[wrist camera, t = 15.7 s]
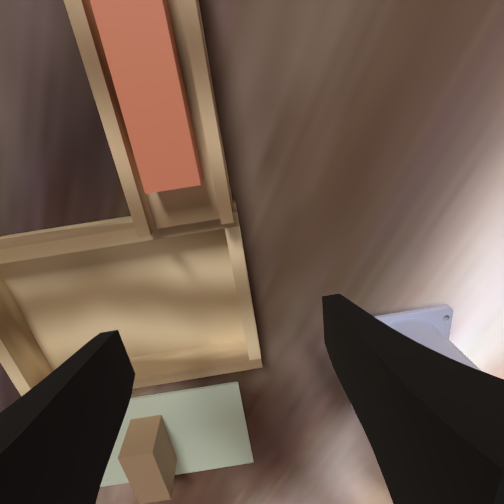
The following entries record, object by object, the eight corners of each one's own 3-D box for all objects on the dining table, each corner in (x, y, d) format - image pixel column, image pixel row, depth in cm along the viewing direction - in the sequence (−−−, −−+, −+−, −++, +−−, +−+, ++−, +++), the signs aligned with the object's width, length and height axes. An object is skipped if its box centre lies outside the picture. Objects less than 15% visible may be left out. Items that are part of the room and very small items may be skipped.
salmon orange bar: (203, 179, 14) (200, 185, 13) (153, 186, 14) (145, 193, 13) (144, -113, 10) (130, -154, 9) (75, -103, 10) (49, -142, 9)
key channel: (232, 199, 19) (233, 222, 14) (159, 211, 19) (138, 237, 14) (184, -81, 13) (164, -182, 9) (84, -67, 13) (13, -161, 9)
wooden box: (258, 338, 23) (262, 367, 20) (52, 372, 23) (27, 406, 20) (235, 199, 19) (236, 212, 16) (-20, 239, 18) (-64, 259, 16)
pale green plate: (253, 453, 29) (256, 501, 26) (97, 478, 29) (78, 530, 25) (237, 375, 25) (239, 418, 21) (55, 403, 25) (25, 452, 21)
